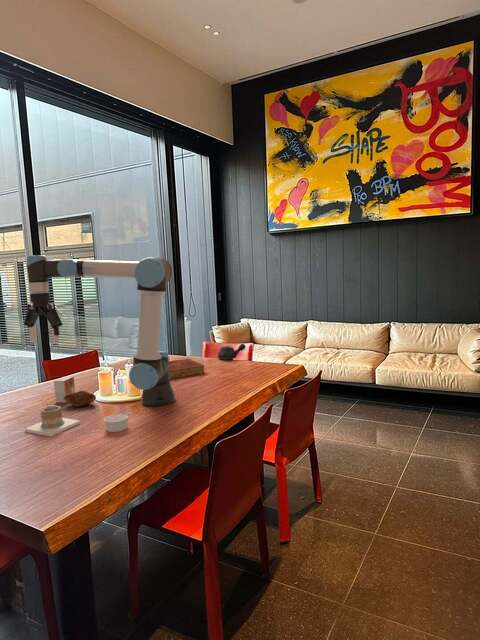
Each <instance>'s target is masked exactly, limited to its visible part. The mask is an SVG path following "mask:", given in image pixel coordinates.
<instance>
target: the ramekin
mask: <svg viewBox="0 0 480 640" xmlns="http://www.w3.org/2000/svg"><path fill="white" fill-rule="evenodd" d="M128 420H129V415H127V414H122V413H118V414H111V415H107V416H106V417H104V418H103V422H104V427H105V431H106V432H108V433H120V432H123V431H125V430H126V429H127V428H128V422H129V421H128Z"/></svg>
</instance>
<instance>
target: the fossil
mask: <svg viewBox="0 0 480 640" xmlns="http://www.w3.org/2000/svg"><path fill="white" fill-rule="evenodd" d="M63 399H64V400H65V401H66V404H69V405H70V406H72V407H74V408H75V407H80V408H81V407H86V406H88V405H89V404H92V403H94V402H95V401H96V399H97V395H95V394H94V393H90V392H88V391H85V390H82V389H80V390H79V391H75V393H73V394H69V395H66V396H65V397H64V398H63Z"/></svg>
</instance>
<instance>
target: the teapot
mask: <svg viewBox="0 0 480 640" xmlns="http://www.w3.org/2000/svg"><path fill="white" fill-rule="evenodd" d="M245 349H246V345H245V344H244V343H241V344H240V345H239V346H238V348H237V349H236V350H235V349H234V347H233V346H230V345H224V346H220V348H219V351H218V352H217V359H220V360H225V361H229V360H233V359H237V358H236V357H237V355H238V354H239V353H240V352H242V351H244V350H245Z"/></svg>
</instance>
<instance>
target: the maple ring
mask: <svg viewBox="0 0 480 640" xmlns="http://www.w3.org/2000/svg"><path fill="white" fill-rule="evenodd" d="M40 417H41V422H42V426H43V427H53V426H58V425H60V424H62V422H63V419H62V418H63V410H62V406H61V405H55V410H52V411H47V406H46V407H43V408H41V410H40Z"/></svg>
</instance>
